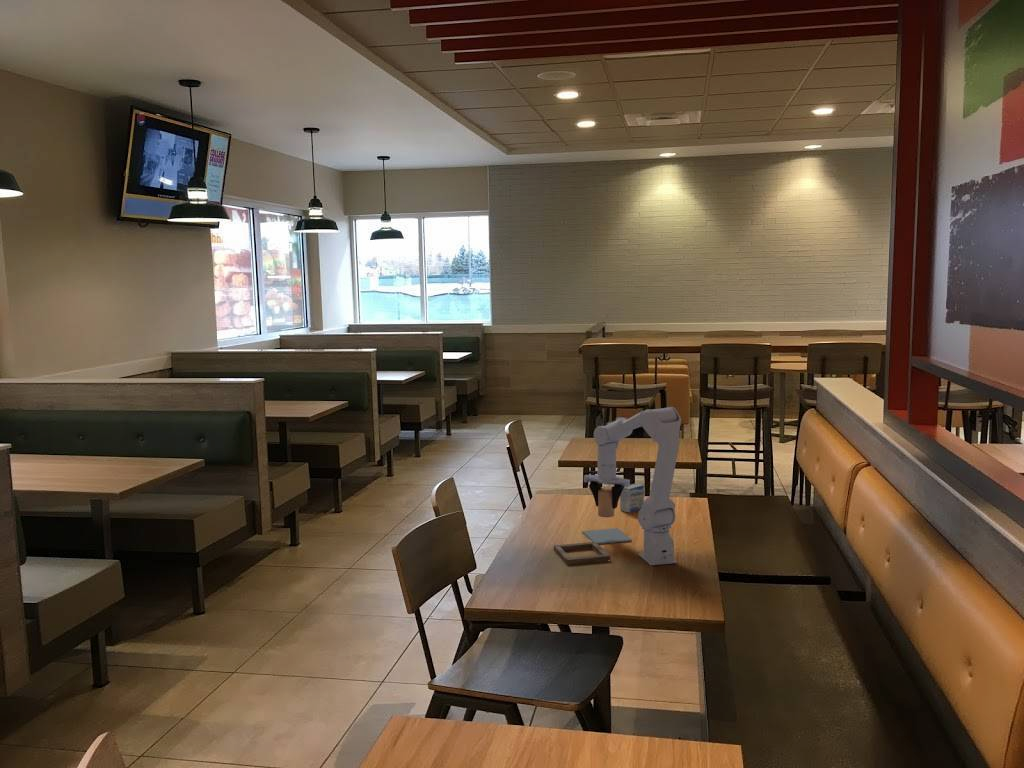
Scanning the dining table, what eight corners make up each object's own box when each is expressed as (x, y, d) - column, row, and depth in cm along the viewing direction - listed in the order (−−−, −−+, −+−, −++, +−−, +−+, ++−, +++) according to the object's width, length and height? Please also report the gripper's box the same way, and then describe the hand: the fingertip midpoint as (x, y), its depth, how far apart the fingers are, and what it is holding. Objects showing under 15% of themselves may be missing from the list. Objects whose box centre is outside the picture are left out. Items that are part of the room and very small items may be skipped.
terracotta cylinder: (610, 518, 251) (610, 493, 250) (595, 515, 253) (595, 491, 252) (616, 513, 255) (616, 488, 254) (602, 511, 258) (602, 486, 256)
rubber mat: (631, 541, 251) (631, 539, 251) (594, 544, 248) (594, 542, 248) (617, 529, 263) (617, 528, 263) (582, 532, 260) (582, 531, 260)
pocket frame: (610, 560, 234) (610, 555, 234) (567, 565, 231) (567, 559, 231) (595, 546, 247) (595, 541, 247) (553, 550, 244) (553, 545, 244)
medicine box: (629, 513, 281) (629, 489, 280) (619, 510, 284) (619, 486, 283) (644, 509, 286) (644, 485, 285) (634, 506, 289) (634, 482, 288)
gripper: (580, 464, 252) (579, 506, 254) (624, 469, 245) (624, 512, 247) (588, 459, 258) (588, 501, 260) (632, 464, 252) (631, 507, 253)
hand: (606, 506), depth 254 cm, fingers closed on terracotta cylinder, 5 cm apart
